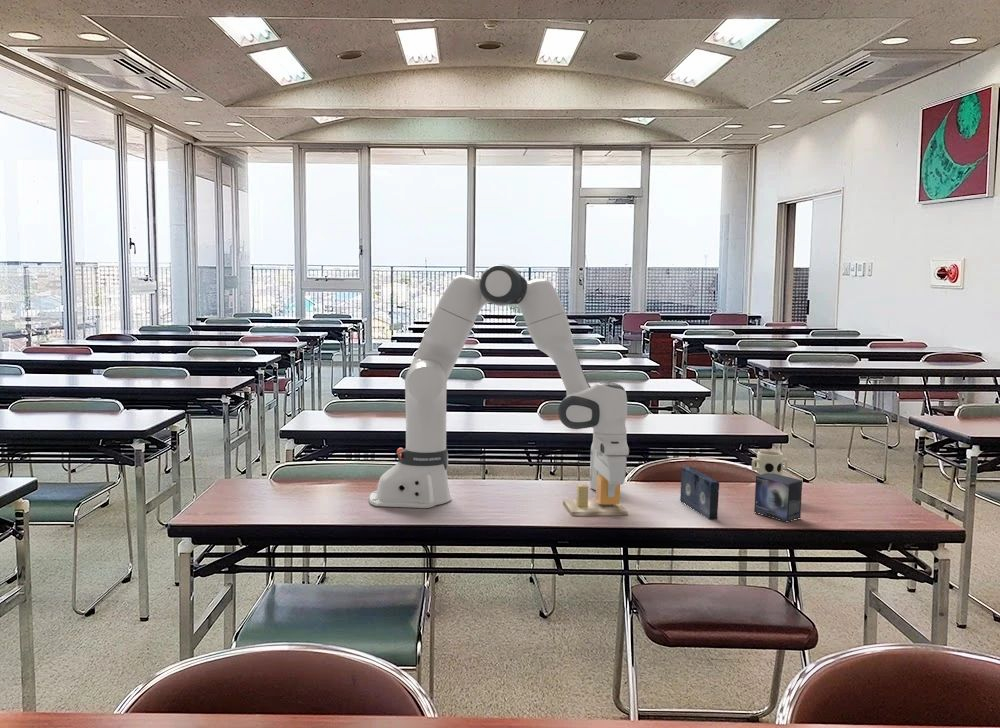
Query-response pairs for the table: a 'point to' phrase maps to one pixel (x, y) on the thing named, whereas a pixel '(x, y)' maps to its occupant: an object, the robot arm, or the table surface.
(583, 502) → the brass post
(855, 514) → the table surface
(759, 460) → the character mug
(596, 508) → the birch board
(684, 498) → the vhs cassette tape
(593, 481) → the bath foam
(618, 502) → the tall orange prism
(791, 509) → the small box
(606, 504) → the steel post
